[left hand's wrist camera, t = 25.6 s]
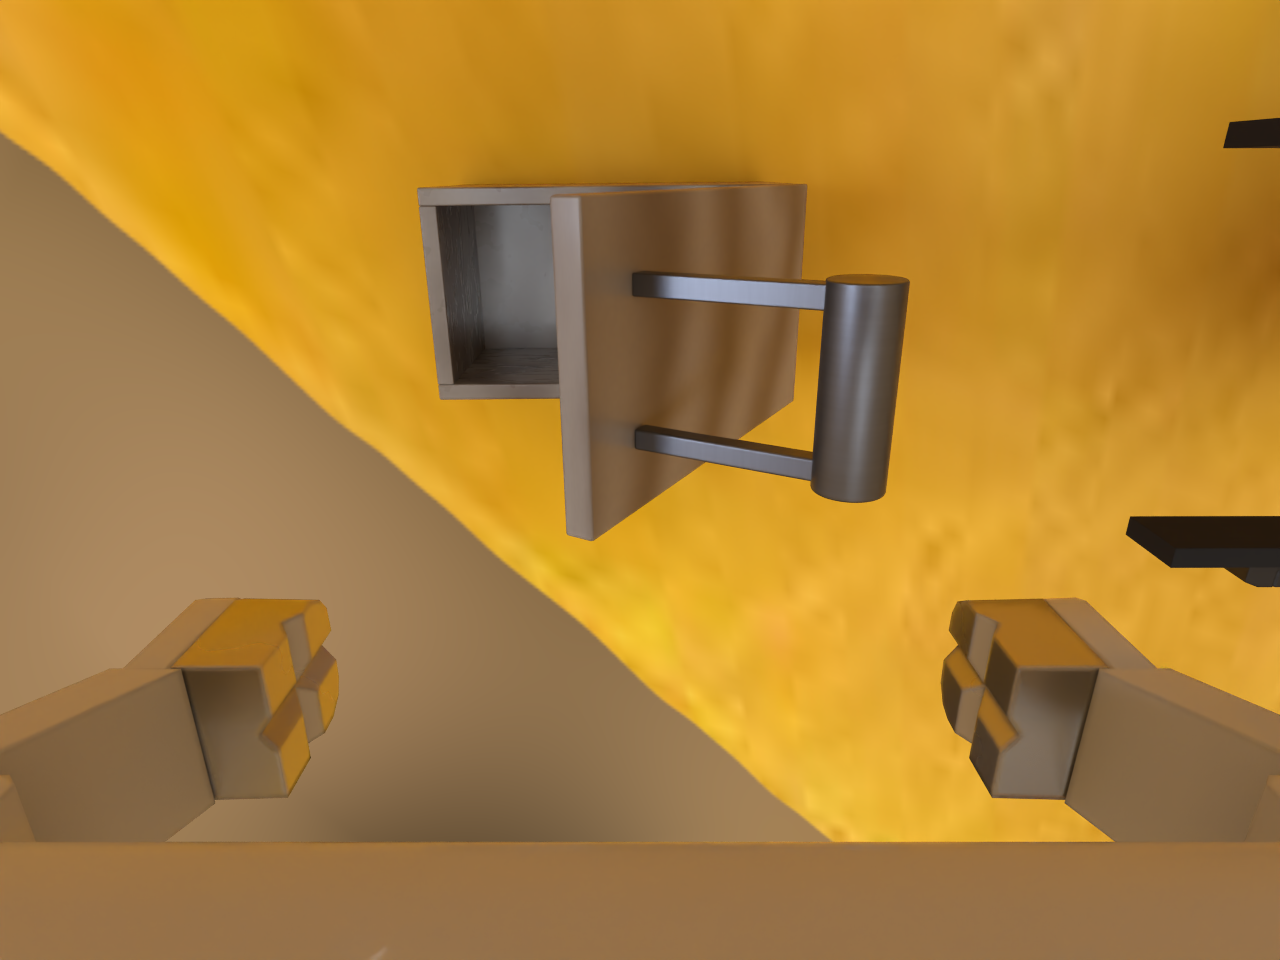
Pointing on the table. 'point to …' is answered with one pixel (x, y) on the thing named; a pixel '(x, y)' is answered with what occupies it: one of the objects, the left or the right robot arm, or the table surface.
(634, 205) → the lid
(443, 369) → the chest
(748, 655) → the table surface
